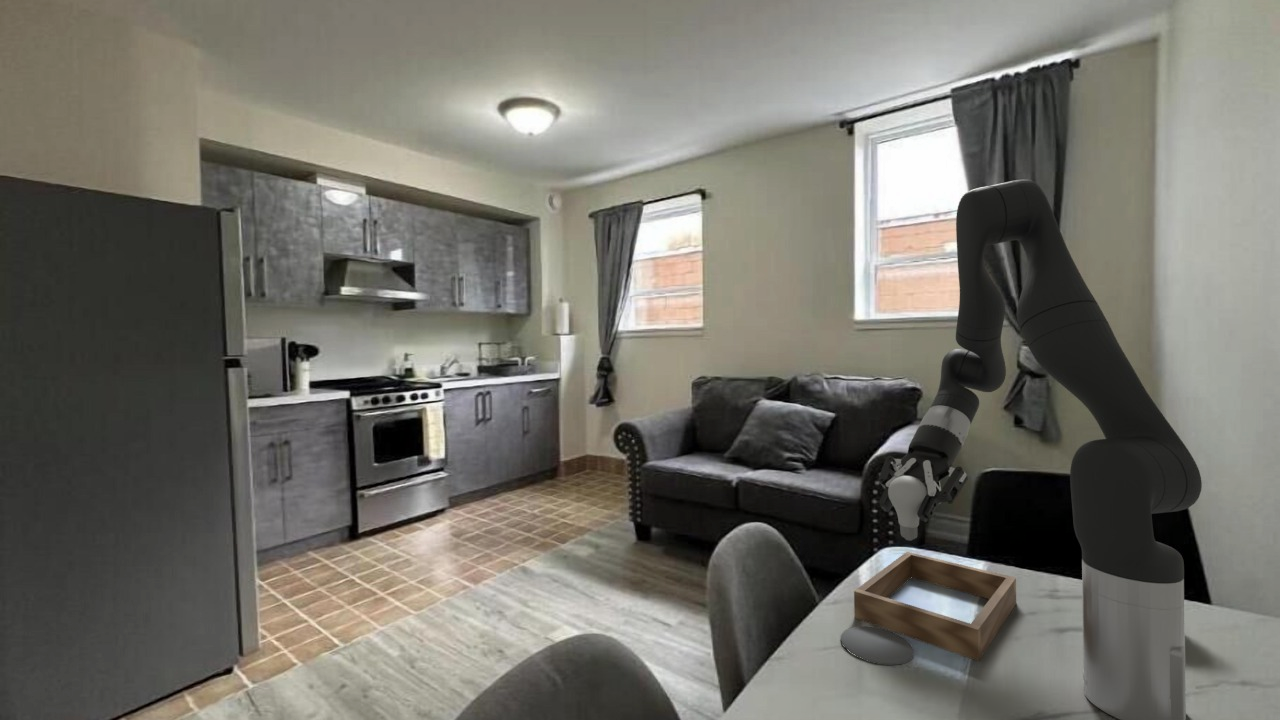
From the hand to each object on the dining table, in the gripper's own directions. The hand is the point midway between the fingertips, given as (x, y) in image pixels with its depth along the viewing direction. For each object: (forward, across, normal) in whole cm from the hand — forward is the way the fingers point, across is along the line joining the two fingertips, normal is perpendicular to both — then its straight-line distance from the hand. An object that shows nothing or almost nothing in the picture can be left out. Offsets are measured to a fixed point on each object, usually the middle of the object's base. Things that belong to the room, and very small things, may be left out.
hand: (902, 513), depth 89 cm
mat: (+21, +3, +3) cm, 22 cm away
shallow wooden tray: (+8, +2, +16) cm, 18 cm away
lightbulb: (+2, 0, +5) cm, 5 cm away
